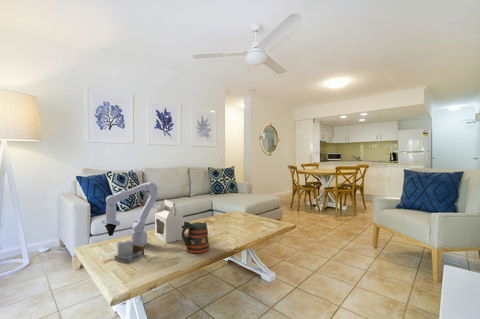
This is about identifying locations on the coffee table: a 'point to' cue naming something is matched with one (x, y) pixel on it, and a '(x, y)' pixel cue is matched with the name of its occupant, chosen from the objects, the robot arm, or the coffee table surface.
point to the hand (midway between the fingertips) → (110, 235)
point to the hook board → (137, 251)
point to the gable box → (168, 222)
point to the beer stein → (196, 237)
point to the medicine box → (125, 249)
